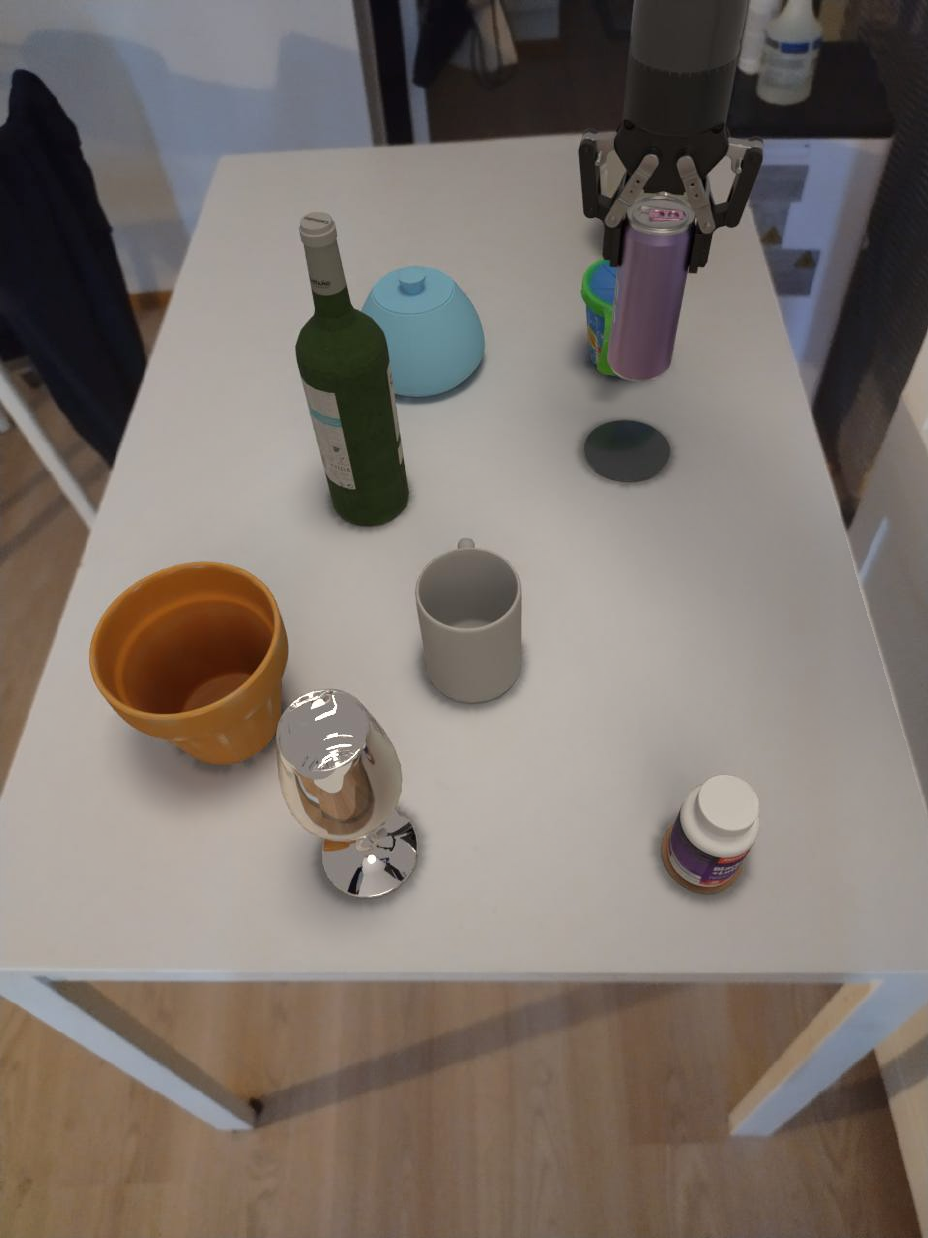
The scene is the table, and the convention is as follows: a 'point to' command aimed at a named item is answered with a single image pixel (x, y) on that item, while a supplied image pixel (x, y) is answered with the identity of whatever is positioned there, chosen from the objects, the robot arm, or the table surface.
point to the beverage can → (650, 286)
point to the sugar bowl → (426, 330)
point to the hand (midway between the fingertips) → (653, 264)
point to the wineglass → (346, 791)
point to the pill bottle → (714, 831)
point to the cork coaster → (684, 882)
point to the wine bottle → (349, 389)
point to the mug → (470, 622)
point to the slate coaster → (626, 451)
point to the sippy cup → (599, 310)
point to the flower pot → (195, 660)
